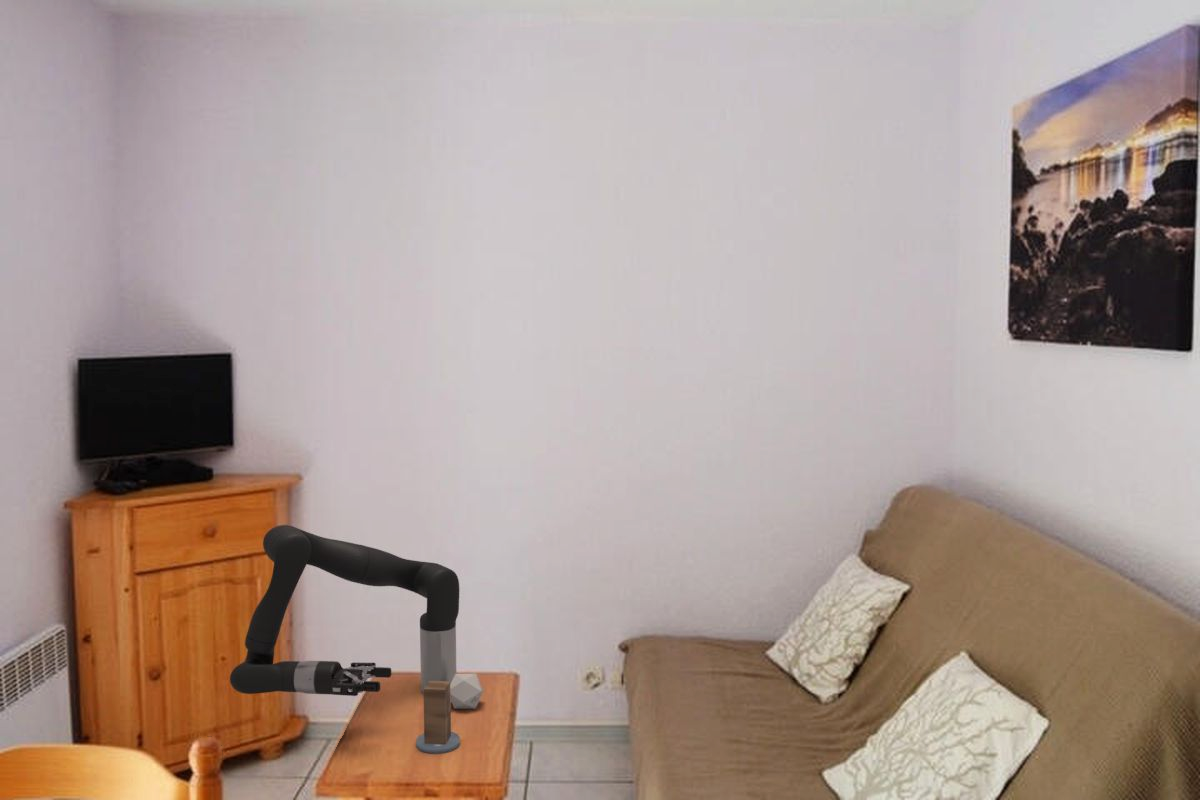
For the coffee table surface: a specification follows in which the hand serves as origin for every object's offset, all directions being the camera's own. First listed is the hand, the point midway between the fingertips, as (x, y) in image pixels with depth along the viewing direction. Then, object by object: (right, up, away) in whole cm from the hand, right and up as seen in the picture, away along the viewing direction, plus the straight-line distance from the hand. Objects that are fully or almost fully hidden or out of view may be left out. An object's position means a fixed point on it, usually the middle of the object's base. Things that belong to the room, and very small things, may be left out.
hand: (385, 679), depth 254 cm
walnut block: (+12, -13, -1) cm, 18 cm away
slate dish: (+12, -15, -1) cm, 19 cm away
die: (+16, -12, +21) cm, 29 cm away
